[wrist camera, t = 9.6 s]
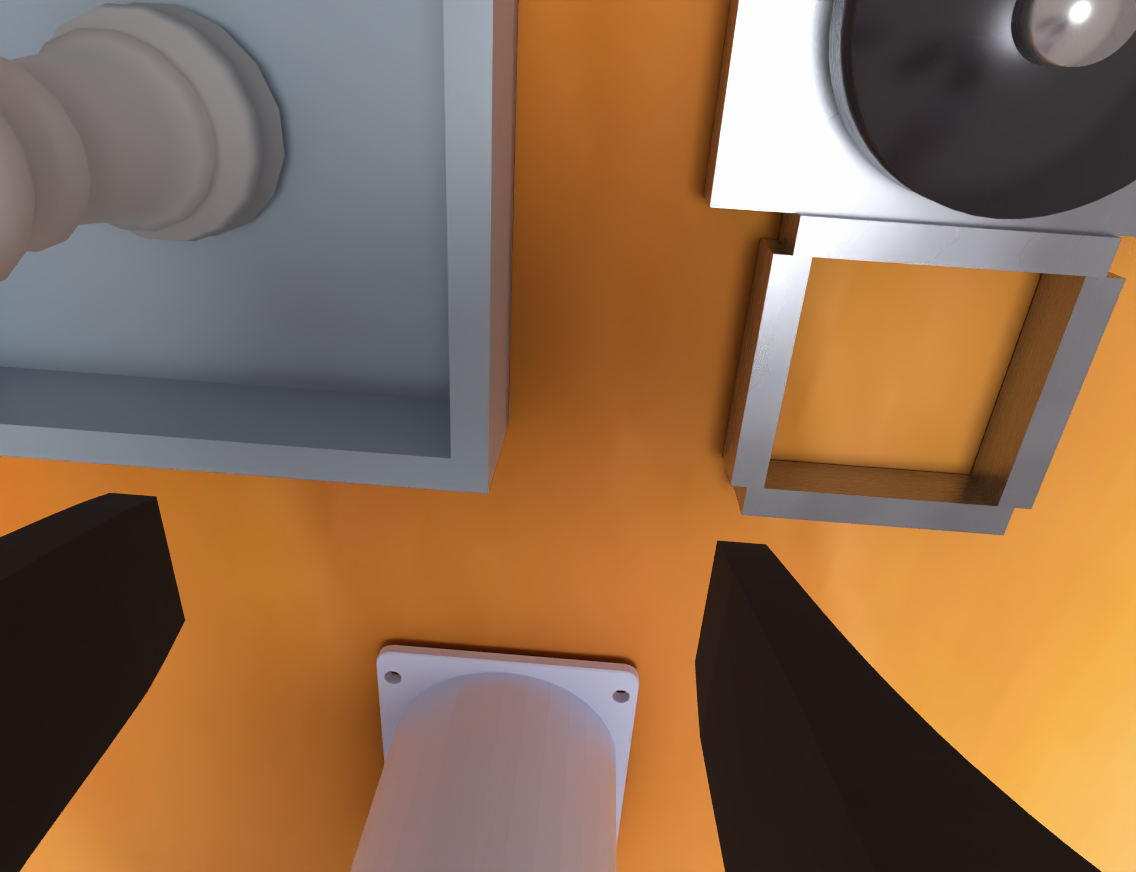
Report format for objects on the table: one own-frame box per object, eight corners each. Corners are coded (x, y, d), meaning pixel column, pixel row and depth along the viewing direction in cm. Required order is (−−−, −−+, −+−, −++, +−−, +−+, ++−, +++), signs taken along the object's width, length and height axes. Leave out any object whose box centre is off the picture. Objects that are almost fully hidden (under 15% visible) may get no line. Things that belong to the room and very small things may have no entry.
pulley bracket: (1045, 507, 19) (1132, 596, 16) (664, 478, 19) (675, 560, 16) (1347, -209, 13) (1597, -300, 9) (763, -242, 13) (814, -342, 10)
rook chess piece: (37, 84, 15) (-462, 104, 8) (189, -49, 14) (-241, -160, 7) (187, 268, 17) (-121, 418, 10) (336, 163, 16) (109, 250, 9)
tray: (508, 422, 19) (487, 493, 16) (-8, 383, 19) (-127, 445, 16) (524, -278, 13) (496, -388, 10) (-237, -320, 13) (-503, -440, 10)
